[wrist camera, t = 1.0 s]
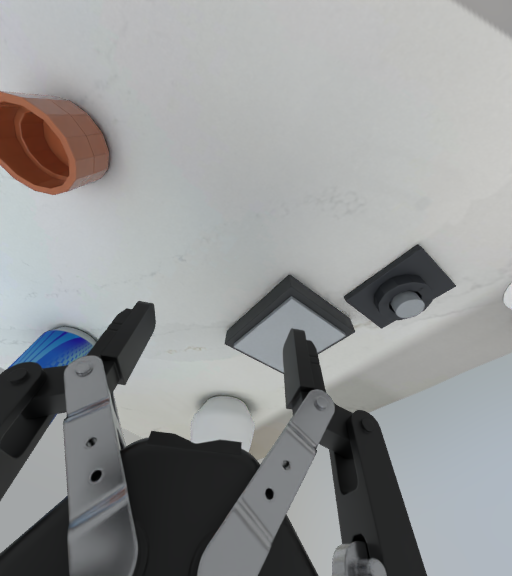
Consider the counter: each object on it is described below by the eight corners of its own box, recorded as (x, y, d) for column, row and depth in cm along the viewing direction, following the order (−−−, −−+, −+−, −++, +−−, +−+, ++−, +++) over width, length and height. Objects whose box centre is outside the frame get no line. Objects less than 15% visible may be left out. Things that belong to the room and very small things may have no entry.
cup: (235, 385, 45) (224, 473, 34) (266, 413, 52) (266, 493, 41) (183, 398, 49) (159, 480, 38) (218, 422, 56) (206, 498, 45)
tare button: (409, 286, 26) (416, 295, 24) (422, 299, 27) (429, 308, 26) (385, 301, 27) (390, 310, 26) (398, 313, 28) (404, 322, 27)
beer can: (110, 355, 40) (39, 466, 28) (67, 355, 41) (-23, 464, 28) (86, 323, 35) (-17, 440, 22) (36, 323, 36) (-91, 438, 23)
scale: (289, 274, 28) (291, 289, 25) (350, 318, 32) (357, 335, 30) (226, 331, 35) (223, 347, 32) (283, 361, 39) (284, 378, 37)
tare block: (417, 244, 25) (430, 255, 23) (451, 281, 28) (466, 294, 26) (343, 296, 30) (349, 309, 28) (379, 324, 33) (386, 337, 31)
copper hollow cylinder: (41, 75, 17) (-25, 64, 14) (121, 136, 20) (85, 142, 16) (31, 148, 21) (-25, 156, 17) (102, 193, 23) (67, 210, 19)
